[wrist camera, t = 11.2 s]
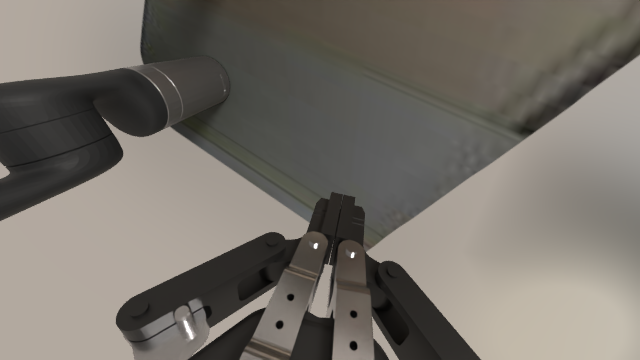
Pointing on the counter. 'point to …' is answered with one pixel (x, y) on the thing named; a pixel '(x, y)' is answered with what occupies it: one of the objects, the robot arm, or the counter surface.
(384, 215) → the counter surface
